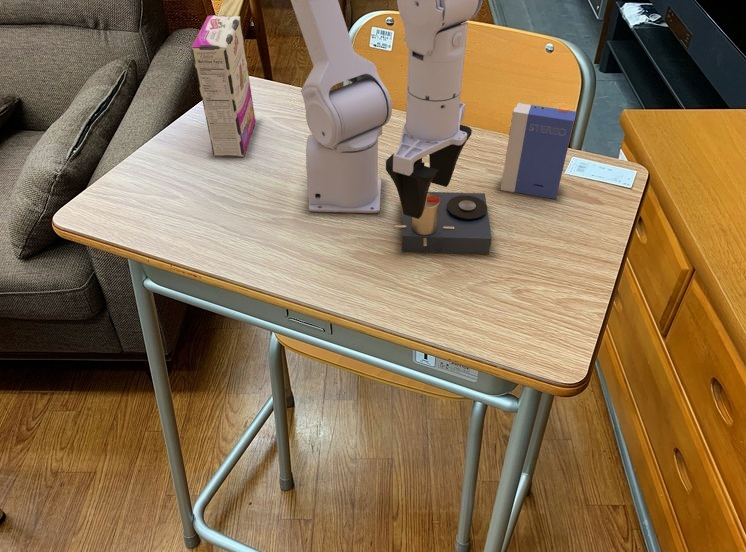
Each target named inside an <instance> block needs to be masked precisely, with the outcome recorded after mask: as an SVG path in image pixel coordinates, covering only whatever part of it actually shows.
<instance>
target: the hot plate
mask: <svg viewBox="0 0 746 552" xmlns="http://www.w3.org/2000/svg"><path fill="white" fill-rule="evenodd" d="M428 193H430V194H434V195H436V196H437V197H440V204H439V216H438V228H437V231H436V232H435V233H433V234H430V235H421V234H418V233H416V232H414V231H413V229H412V217H410V216H407V215H404V213H403V209H402V208H401V224H400V225H399V224H395V225H394V228H395V229H401V245H400V246H401V247H400V248H401V253H425V254H428V253H429V254H430V253H433V254H465V255H466V254H467V255H469V254H470V255H489V254H490V250H491V245H492V232H491V231H492V230H491V226H490V224H491V223H490V218H489V212H488V210H487V213H486V215H485V216H484V217H483V218H481V219H479V220H476V221H461V220H458V219H455V218H453V217H452V216H450V215H449V213H448V212H447V203H448V201H449V200H450V199H452V198H454V197H456V196H462V195H468V196H474V197H477V198H479V199H481V200H483V201H484V202H485V203H486V205H487V204H488V203H487V197H486V193H485V192H451V191H449V192H448V191H428ZM487 206H488V205H487Z"/></svg>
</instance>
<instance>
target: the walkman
mask: <svg viewBox="0 0 746 552" xmlns="http://www.w3.org/2000/svg"><path fill="white" fill-rule="evenodd" d="M511 115H512V116H511V120H510V126H509V133H508V141H507V147H506V152H505V160H504V166H503V171H502V172H503V173H502V179H501V185H500V191H505V192H510V193H516V194H523V195H527V196H528V195H529V196H535V197H541V198H547V199H553V200H557V197H558V192H559V188H560V184H561V179H562V175H563V171H564V167H565V162H566V158H567V155H568V154H567V153H568V150H569V146H570V141H571V136H572V133H573V128H574V123H575V120H576V115H577V111H575V110H570V108H569V107H563V106H560V107H559V108H555V107H549V106H541V105H535V104H527V103H521V102H517V105H516V106H515V107H514V108H513V110H512V112H511Z"/></svg>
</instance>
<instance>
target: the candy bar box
mask: <svg viewBox="0 0 746 552" xmlns="http://www.w3.org/2000/svg"><path fill="white" fill-rule="evenodd" d="M242 28H243V27H242V23H241V16H240V15H216V14H214V15H207V17H206V19H205V21H204V22H203V24H202V26H201V28H200V30H199V32H198V34H197V35H196V37H195V39H194V41H193V43H192V45H191V47H190V49H191V54H192V58H193V62H194V67H195V74H196V78H197V82H198V87H199V91H200V96H201V100H202V105H203V111H204V115H205V116H204V117H205V120H206V125H207V131H208V135H209V139H210V144H211V150H212V154H213V156H214V157H221V158H225V157H227V158H229V157H231V158H232V157H233V158H235V157H236V158H244V157H245V156H246V153H247V149H248V146H249V143H250V140H251V137H252V133H253V130H254V128H255V124H256V120H257V119H256V115H255V109H254V102H253V101H254V100H253V97H252V88H251V81H250V76H249V67H248V62H247V56H246V48H245V41H244V36H243V29H242Z"/></svg>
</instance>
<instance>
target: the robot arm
mask: <svg viewBox="0 0 746 552" xmlns="http://www.w3.org/2000/svg"><path fill="white" fill-rule="evenodd" d="M290 2H291V5H292V9H293V11H294V14H295V18H296V20H297V23H298V26H299V29H300V32H301V34H302V38H303V41H304V43H305V46H306V49H307V52H308V55H309V57H310V61H311V64H312V66H313V67H312V69H311V70H310V72H309V75H308V76H307V78H306V80H305V81H304V83H303V85H302V87H301V89H300V93H301V96H302V99H303V103H304V108H305V119H306V124H307V127H308V129H309V132H310V134H308V136H307V139H306V145H305V146H306V147H305V167H306V168H305V169H306V184H307V194H308V210H309V211H310V212H319V213H320V212H323V213H324V212H325V213H357V214H362V213H363V214H378V213H380V209H381V195H382V194H381V192H382V179H381V178H379V177H378V176H379V173H378V172H379V166H378V165H379V137H380V136H382V135H383V126H385V125H387V124H388V123H389V121H390V120H391V117H392V115H393V114H392V113H393V105H392V98H391V95H390V92H389V90H388V89H387V86H386V85H385V84H384V82H383V80H382V79H381V78H380V76H379V72H378V69H377V66H376V64H375V63H374V62H372V61H371V60H369V59H368V58H365V57H363V56H361V55H360V54H359V53H357V52H355V49H354V46H353V43H352V40H351V36H350V34H349V33H350V32H349V30H348V27H347V23H346V21H345V17H344V15H343V11H342V9H341V5H340V2H339V0H290ZM483 2H484V0H396V3H397V10H398V13H399V16H400V19H401V21H402V23H403V27H404V41H405V45H406V47H407V49H408V57H407V58H408V60H407V84H406V85H407V86H406V111H405V123H404V125H403V130H402V132H401V136H400V140H399V145H398V147H397V150H396V151H395V153H392V154H391V155H390V156H389V157H388V158H387V159H386V160H385V171H386V173H387V174H388V175H389V177H390V178H391V180H392V182H393V183H394V186H395V188H396V191H397V194H398V197H399V202H400V205H401V210H402V209H403V213H404V215H407V216H410V217H414V218H417V219H419V218H420V217H421V216H422V214H423V211H424V207H425V203H426V197H427V193H428V192H429V189H430V186H431V184H434V185H437V186H441V187H444V188H447V187H448V186H449V184H450V183H451V180H452V177H453V174H454V171H455V168H456V165H457V163H458V159H459V157H460V154H461V152H462V150H463V149H464V146H465V145H466V143H467V141H468V140H469V139H470V137H471V136H472V132H473V130H472V128H471V127H470V126H467V125H464V124H461V122H463V121H464V119H465V113H466V103H465V102H464V103H463V102H461V97H462V88H463V77H464V66H465V58H466V47H467V37H468V28H469V27H468V26H469V23H468V21H470V20H472V19H473V18H475V17H476V16H477V15H478V14H479V11H480V10H481V8H482V5H483ZM347 81H349V82H351V83H348V84H346V85H343V86H340V87H338V88H335V89H332V88H333V87H334V86H336V85H337V84H342V83H343V82H347ZM427 156H428V159H429V166H427V165H425V164H426V163H425V161H423V158H425V157H427Z"/></svg>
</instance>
